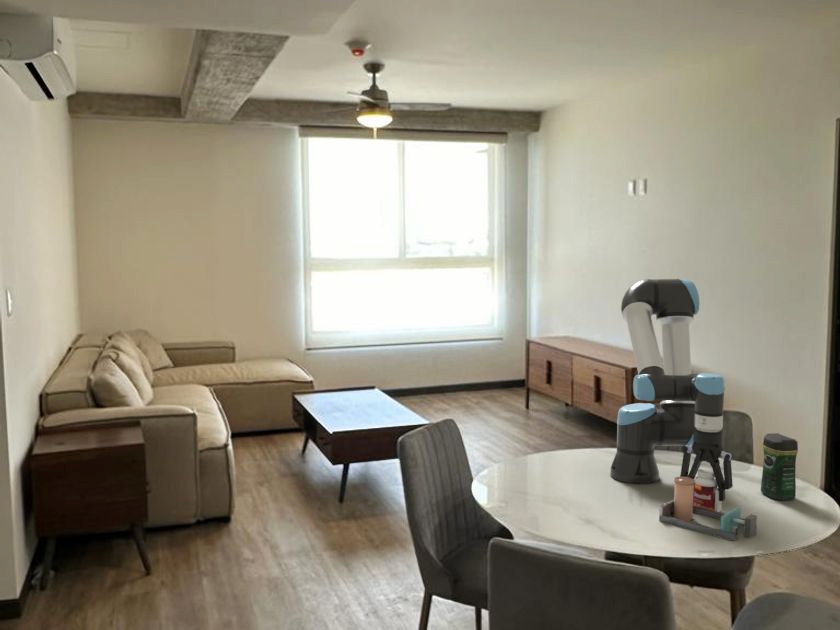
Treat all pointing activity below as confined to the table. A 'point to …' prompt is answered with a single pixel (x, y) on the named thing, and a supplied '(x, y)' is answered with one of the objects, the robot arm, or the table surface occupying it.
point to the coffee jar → (779, 466)
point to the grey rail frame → (668, 511)
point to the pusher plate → (734, 520)
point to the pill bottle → (705, 489)
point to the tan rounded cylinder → (683, 498)
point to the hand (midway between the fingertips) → (704, 508)
